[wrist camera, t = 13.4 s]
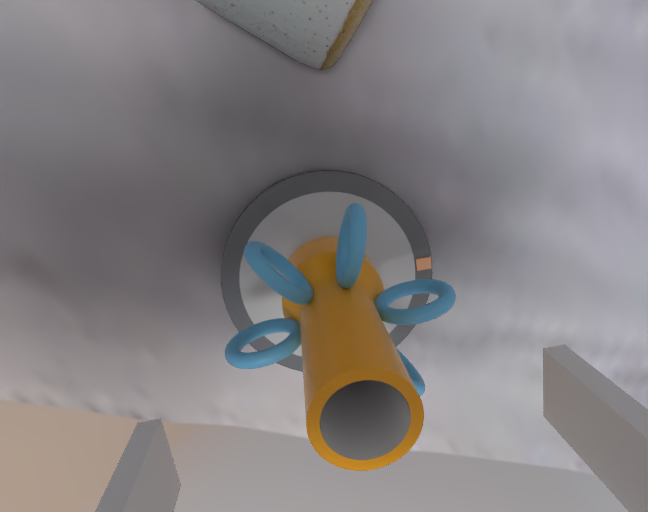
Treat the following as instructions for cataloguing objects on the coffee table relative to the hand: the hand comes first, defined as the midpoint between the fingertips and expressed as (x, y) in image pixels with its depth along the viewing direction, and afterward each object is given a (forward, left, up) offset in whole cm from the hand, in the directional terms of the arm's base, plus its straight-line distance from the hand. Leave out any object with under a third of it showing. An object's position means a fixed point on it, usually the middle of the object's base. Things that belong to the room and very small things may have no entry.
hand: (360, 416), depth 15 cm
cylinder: (0, 0, -15) cm, 15 cm away
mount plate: (0, 0, -16) cm, 16 cm away
